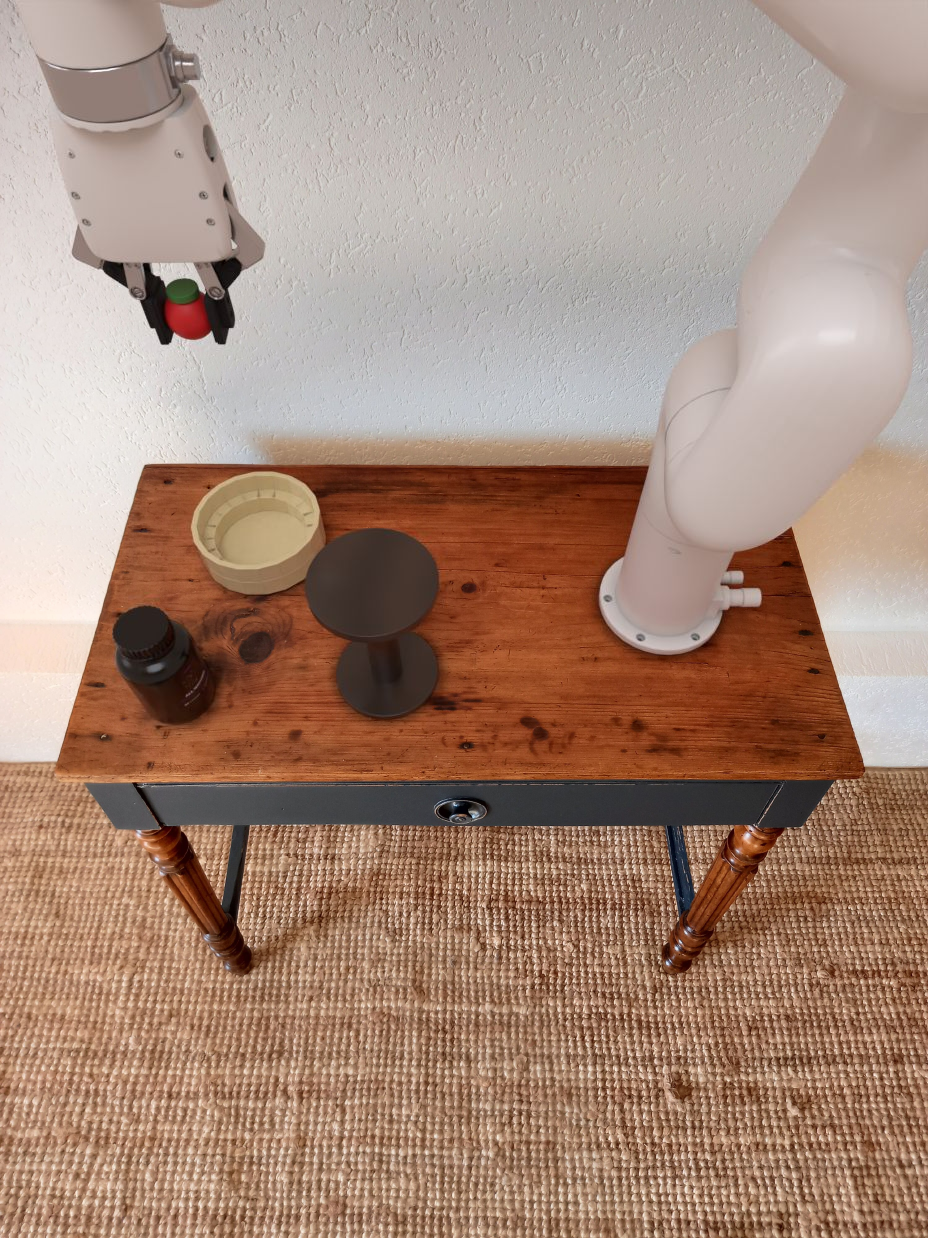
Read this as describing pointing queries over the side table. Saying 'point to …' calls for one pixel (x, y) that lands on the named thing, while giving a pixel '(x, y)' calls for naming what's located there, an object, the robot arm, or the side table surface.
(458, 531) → the side table surface
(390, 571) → the cake stand
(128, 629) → the supplement bottle
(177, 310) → the tomato
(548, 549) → the side table surface
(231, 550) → the bowl
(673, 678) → the side table surface
